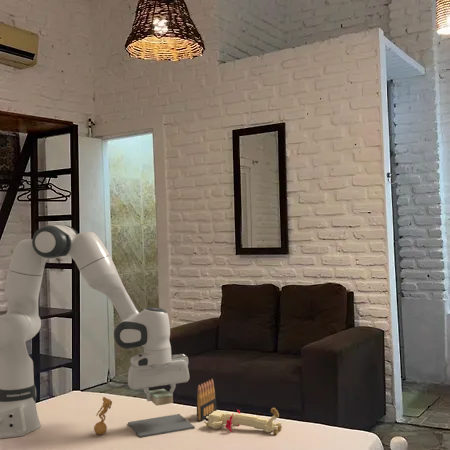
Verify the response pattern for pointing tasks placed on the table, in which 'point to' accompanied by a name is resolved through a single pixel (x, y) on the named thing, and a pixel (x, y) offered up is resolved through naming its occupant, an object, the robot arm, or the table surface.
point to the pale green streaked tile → (161, 397)
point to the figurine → (101, 426)
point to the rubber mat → (160, 425)
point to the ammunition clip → (206, 400)
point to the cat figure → (243, 421)
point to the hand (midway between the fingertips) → (159, 399)
